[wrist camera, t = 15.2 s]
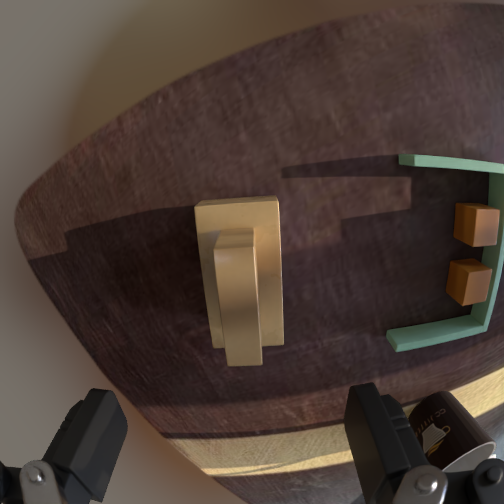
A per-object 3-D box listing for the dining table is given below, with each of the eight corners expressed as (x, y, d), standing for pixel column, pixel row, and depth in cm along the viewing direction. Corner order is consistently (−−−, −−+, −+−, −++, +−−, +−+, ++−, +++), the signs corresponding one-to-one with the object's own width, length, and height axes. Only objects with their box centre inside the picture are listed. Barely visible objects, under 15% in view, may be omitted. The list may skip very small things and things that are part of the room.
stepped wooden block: (280, 320, 24) (288, 382, 17) (218, 323, 24) (205, 385, 17) (274, 193, 21) (285, 212, 14) (203, 198, 21) (177, 220, 14)
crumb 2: (444, 291, 23) (462, 306, 20) (450, 260, 22) (468, 272, 20) (468, 288, 23) (485, 301, 20) (473, 258, 22) (492, 269, 19)
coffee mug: (455, 371, 26) (497, 430, 17) (463, 406, 28) (495, 457, 19) (368, 426, 28) (391, 495, 19) (388, 452, 31) (409, 509, 21)
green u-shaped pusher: (385, 337, 25) (395, 352, 22) (398, 153, 20) (413, 154, 17) (508, 310, 24) (521, 320, 22) (528, 168, 19) (545, 171, 17)
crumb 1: (452, 237, 22) (472, 247, 19) (455, 202, 21) (476, 209, 18) (476, 235, 22) (496, 245, 19) (479, 202, 21) (500, 209, 18)
